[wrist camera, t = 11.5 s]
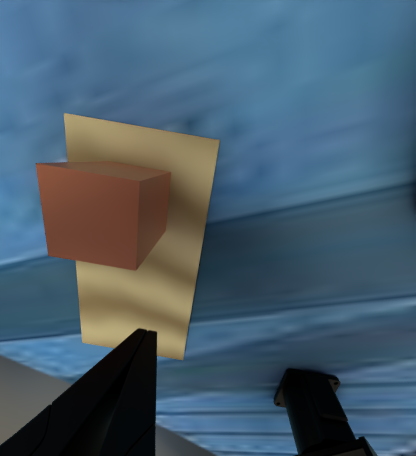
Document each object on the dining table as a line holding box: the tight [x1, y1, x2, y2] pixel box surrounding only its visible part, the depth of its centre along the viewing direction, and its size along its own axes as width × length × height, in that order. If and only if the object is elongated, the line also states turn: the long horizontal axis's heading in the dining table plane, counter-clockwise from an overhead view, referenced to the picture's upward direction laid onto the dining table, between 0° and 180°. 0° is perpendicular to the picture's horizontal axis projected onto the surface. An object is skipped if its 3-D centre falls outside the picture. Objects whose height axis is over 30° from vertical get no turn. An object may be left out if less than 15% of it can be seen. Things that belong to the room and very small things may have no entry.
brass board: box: [64, 113, 220, 360], centre depth 20 cm, size 24×12×1 cm, turn 171°
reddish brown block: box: [36, 161, 171, 271], centre depth 14 cm, size 5×5×7 cm
